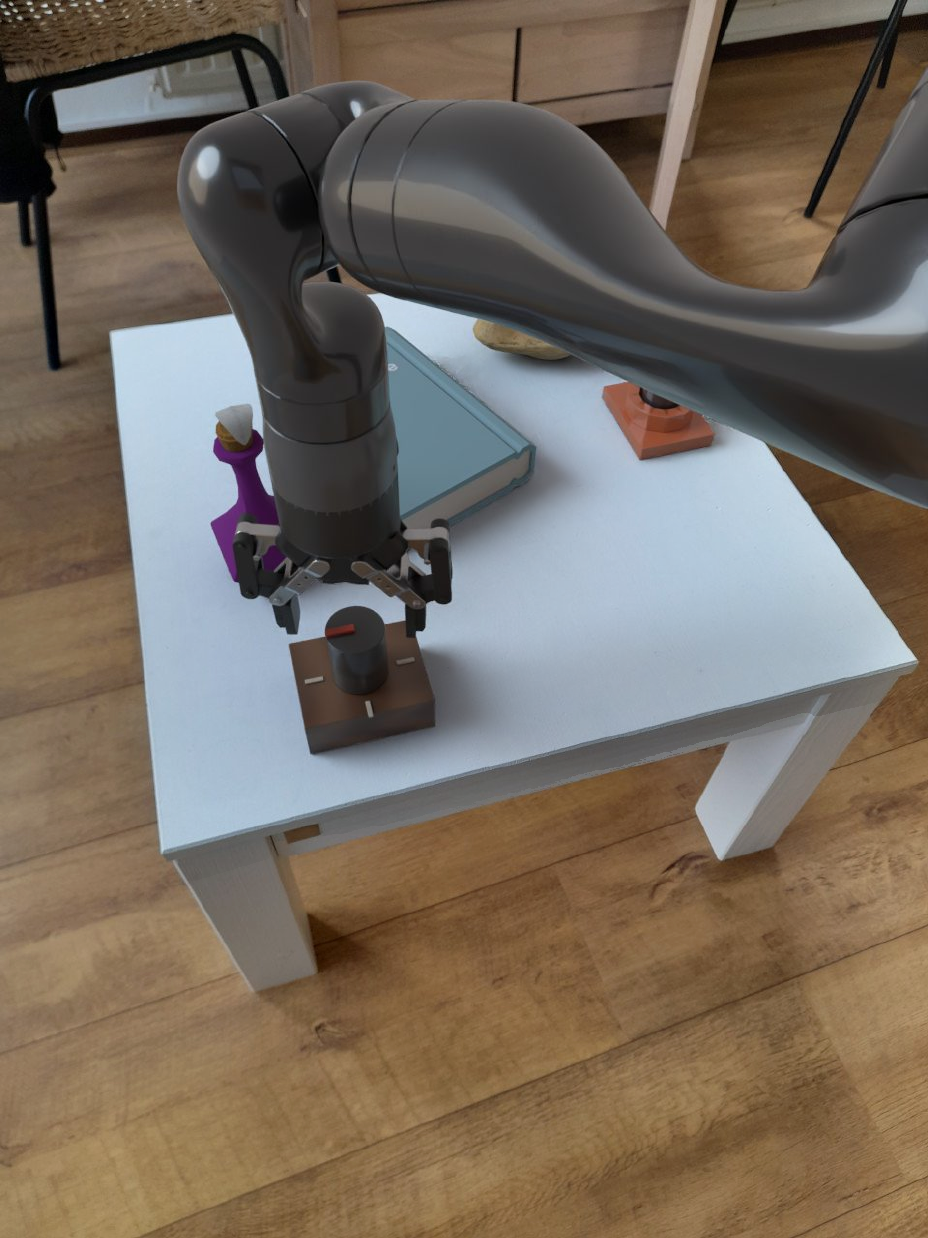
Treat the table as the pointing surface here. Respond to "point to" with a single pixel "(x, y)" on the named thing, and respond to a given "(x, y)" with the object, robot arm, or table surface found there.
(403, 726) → the dial panel
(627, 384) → the button base
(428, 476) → the book
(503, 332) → the oil lamp
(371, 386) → the robot arm
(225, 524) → the perfume bottle
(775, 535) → the table surface
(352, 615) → the dial
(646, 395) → the dark grey knob
